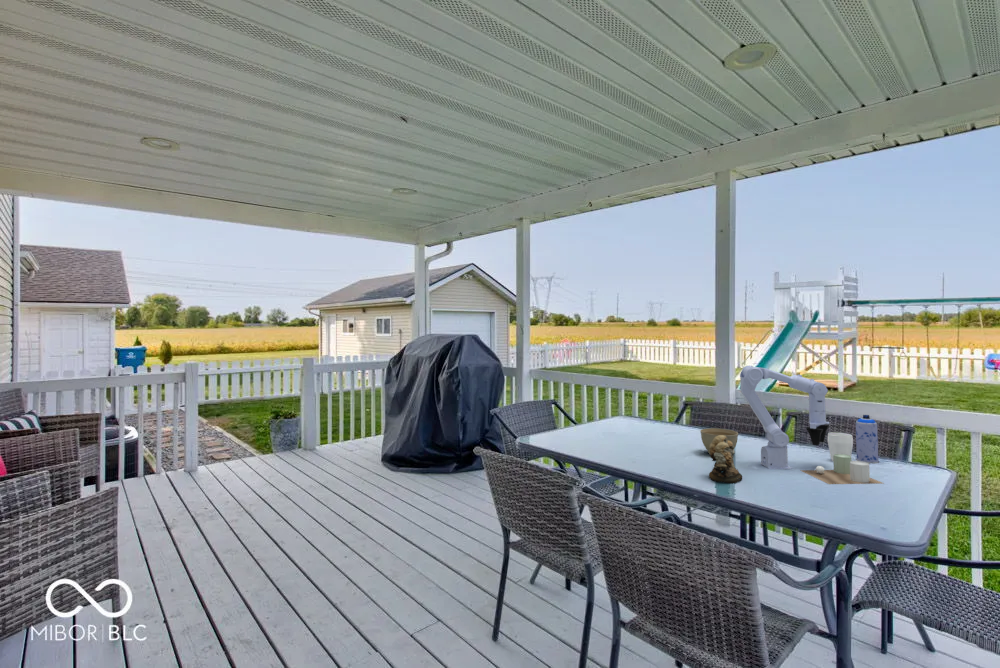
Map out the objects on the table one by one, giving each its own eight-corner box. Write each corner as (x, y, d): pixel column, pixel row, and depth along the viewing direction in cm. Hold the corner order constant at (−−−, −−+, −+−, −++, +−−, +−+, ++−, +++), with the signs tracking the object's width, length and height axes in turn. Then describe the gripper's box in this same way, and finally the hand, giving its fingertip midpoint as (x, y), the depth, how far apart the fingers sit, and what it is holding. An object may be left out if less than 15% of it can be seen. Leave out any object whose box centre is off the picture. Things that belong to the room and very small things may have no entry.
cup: (858, 463, 203) (857, 435, 203) (844, 466, 200) (843, 437, 200) (837, 458, 212) (836, 431, 212) (823, 460, 208) (822, 433, 208)
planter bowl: (727, 461, 212) (726, 436, 212) (694, 454, 225) (693, 431, 225) (745, 455, 222) (744, 431, 222) (712, 448, 235) (712, 426, 235)
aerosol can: (871, 458, 210) (869, 413, 210) (883, 463, 202) (882, 416, 202) (852, 458, 211) (850, 413, 211) (863, 463, 203) (862, 416, 203)
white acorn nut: (857, 482, 177) (857, 464, 177) (847, 478, 182) (846, 460, 182) (873, 482, 176) (872, 464, 176) (862, 477, 182) (861, 460, 182)
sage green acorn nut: (840, 474, 187) (839, 457, 187) (831, 470, 193) (830, 453, 193) (854, 473, 187) (854, 457, 187) (845, 469, 193) (844, 453, 193)
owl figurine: (740, 486, 177) (739, 441, 177) (706, 483, 183) (704, 438, 183) (743, 473, 193) (741, 431, 193) (711, 470, 199) (710, 429, 199)
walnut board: (829, 485, 176) (829, 484, 176) (799, 471, 194) (799, 470, 194) (884, 484, 175) (884, 483, 175) (850, 470, 193) (850, 469, 193)
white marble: (818, 474, 187) (818, 467, 187) (814, 472, 190) (813, 465, 190) (826, 474, 187) (826, 467, 187) (821, 472, 190) (821, 465, 190)
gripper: (824, 413, 190) (825, 448, 189) (833, 409, 199) (834, 441, 199) (803, 412, 195) (804, 445, 195) (813, 407, 205) (814, 439, 205)
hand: (818, 443), depth 197 cm, fingers open, 7 cm apart
